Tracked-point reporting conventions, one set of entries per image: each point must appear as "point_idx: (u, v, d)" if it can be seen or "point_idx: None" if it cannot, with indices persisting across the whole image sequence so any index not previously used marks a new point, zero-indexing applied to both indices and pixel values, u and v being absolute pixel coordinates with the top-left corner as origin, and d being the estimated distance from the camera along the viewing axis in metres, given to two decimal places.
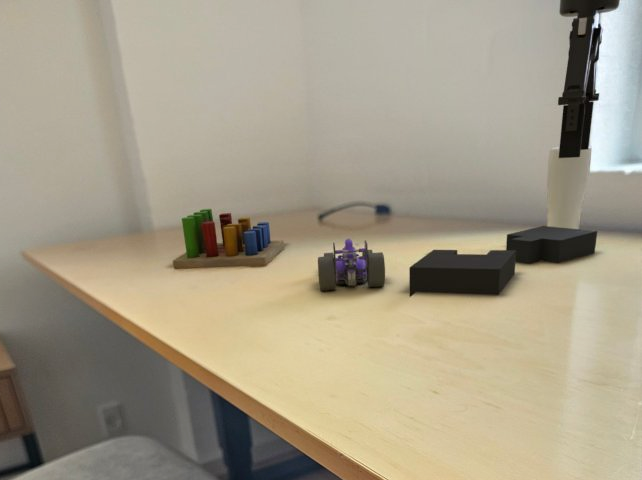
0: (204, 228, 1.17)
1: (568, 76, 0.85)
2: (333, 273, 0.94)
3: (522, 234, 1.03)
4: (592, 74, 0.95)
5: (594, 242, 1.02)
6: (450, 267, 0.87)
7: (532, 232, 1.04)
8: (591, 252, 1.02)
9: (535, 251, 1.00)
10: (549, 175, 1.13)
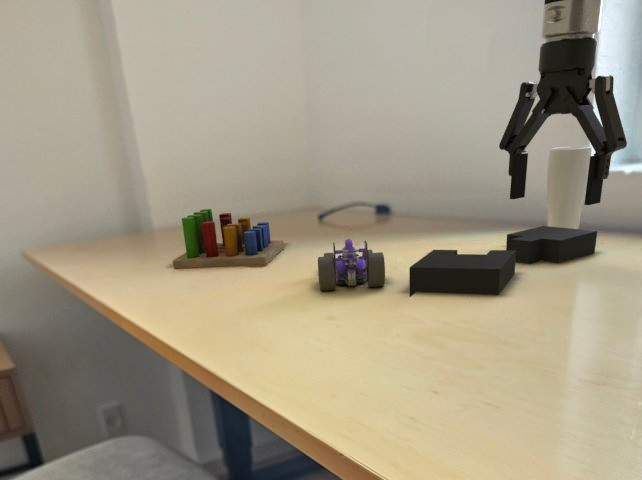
0: (204, 228, 1.17)
1: (613, 129, 0.89)
2: (333, 273, 0.94)
3: (522, 234, 1.03)
4: (538, 128, 1.00)
5: (594, 242, 1.02)
6: (450, 267, 0.87)
7: (532, 232, 1.04)
8: (591, 252, 1.02)
9: (535, 251, 1.00)
10: (549, 175, 1.13)
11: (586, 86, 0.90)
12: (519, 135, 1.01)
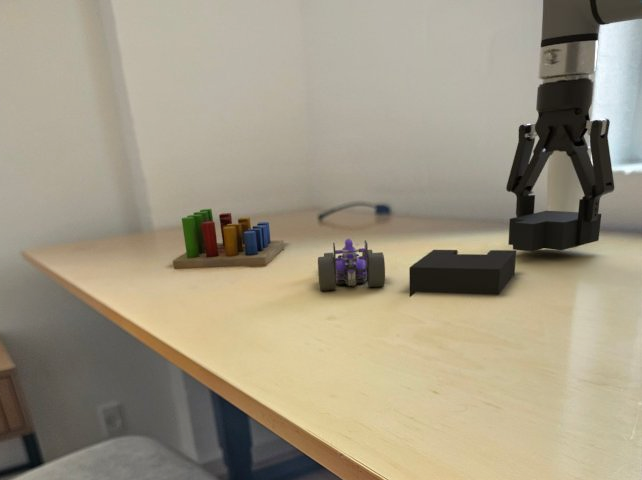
0: (204, 228, 1.17)
1: (603, 174, 0.92)
2: (333, 273, 0.94)
3: (525, 218, 1.02)
4: (542, 167, 1.02)
5: (598, 224, 1.00)
6: (450, 267, 0.87)
7: (535, 216, 1.03)
8: (595, 235, 1.01)
9: (539, 234, 0.98)
10: (549, 175, 1.13)
11: (583, 125, 0.92)
12: (524, 176, 1.02)
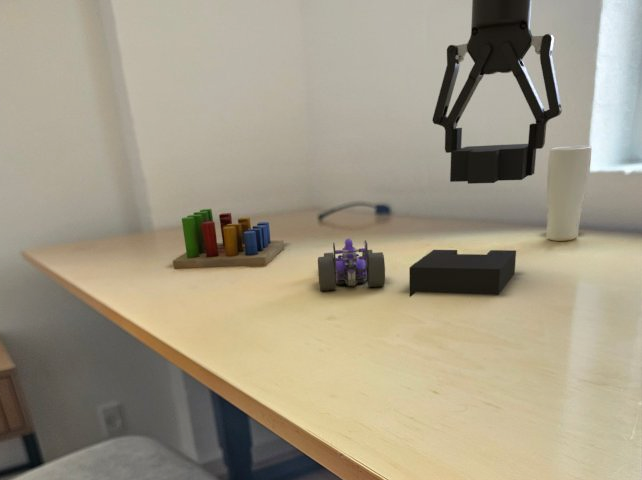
0: (204, 228, 1.17)
1: (556, 94, 0.87)
2: (333, 273, 0.94)
3: (468, 150, 0.92)
4: (471, 95, 0.93)
5: None
6: (450, 267, 0.87)
7: (473, 148, 0.94)
8: None
9: (497, 163, 0.89)
10: (549, 175, 1.13)
11: (530, 41, 0.86)
12: (456, 105, 0.92)
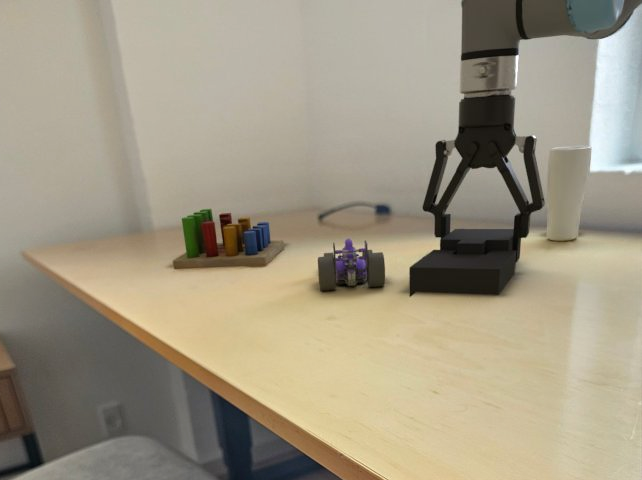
0: (204, 228, 1.17)
1: (539, 190, 0.92)
2: (333, 273, 0.94)
3: (456, 238, 0.97)
4: (459, 185, 0.98)
5: None
6: (450, 267, 0.87)
7: (461, 235, 0.99)
8: None
9: (484, 253, 0.94)
10: (549, 175, 1.13)
11: (514, 141, 0.91)
12: (445, 195, 0.97)
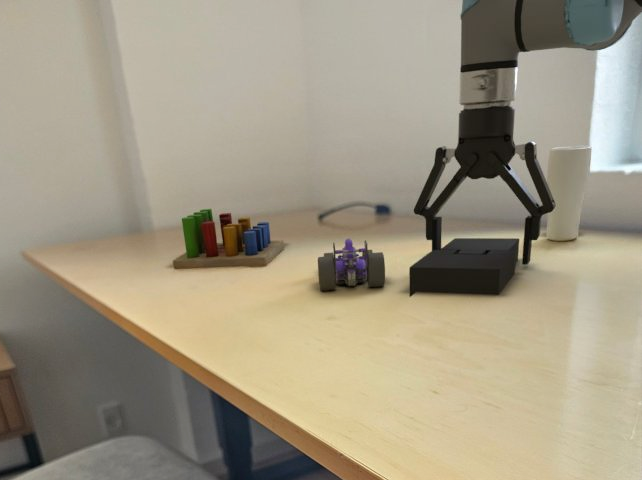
0: (204, 228, 1.17)
1: (548, 192, 0.91)
2: (333, 273, 0.94)
3: (456, 248, 0.98)
4: None
5: (518, 249, 1.01)
6: (450, 267, 0.87)
7: (460, 245, 0.99)
8: (516, 260, 1.01)
9: None
10: (549, 175, 1.13)
11: (513, 152, 0.91)
12: (438, 200, 0.98)
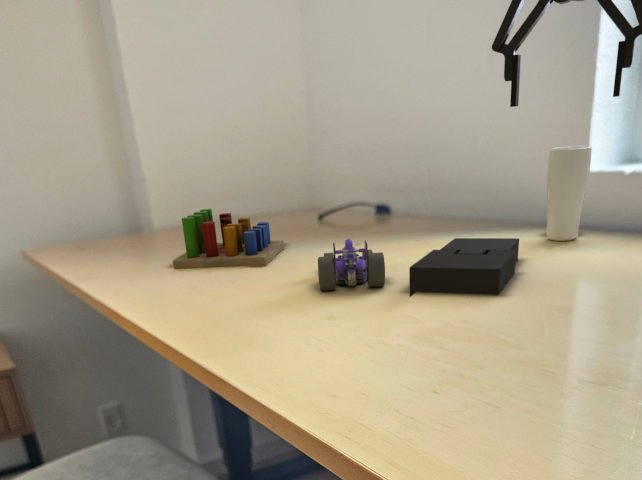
0: (204, 228, 1.17)
1: None
2: (333, 273, 0.94)
3: (456, 248, 0.98)
4: (536, 23, 0.92)
5: (518, 249, 1.01)
6: (450, 267, 0.87)
7: (460, 245, 0.99)
8: (516, 260, 1.01)
9: None
10: (549, 175, 1.13)
11: None
12: (520, 31, 0.91)
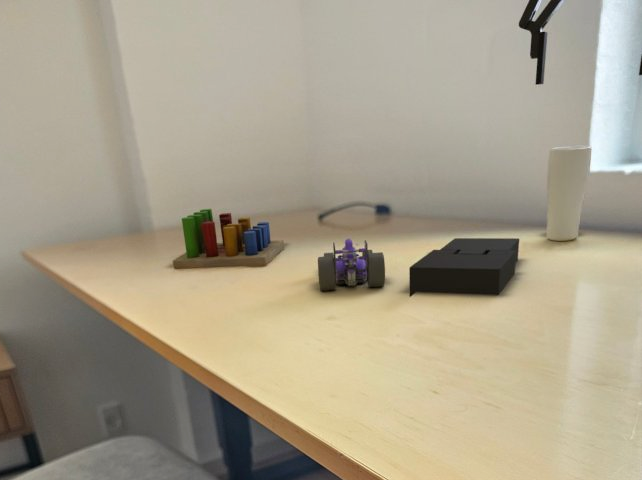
0: (204, 228, 1.17)
1: None
2: (333, 273, 0.94)
3: (456, 248, 0.98)
4: (563, 0, 0.92)
5: (518, 249, 1.01)
6: (450, 267, 0.87)
7: (460, 245, 0.99)
8: (516, 260, 1.01)
9: None
10: (549, 175, 1.13)
11: None
12: (547, 8, 0.91)
